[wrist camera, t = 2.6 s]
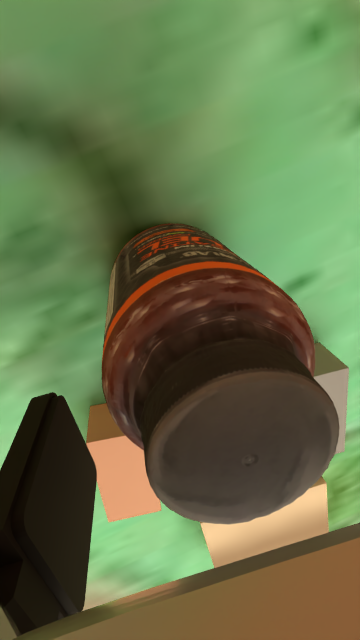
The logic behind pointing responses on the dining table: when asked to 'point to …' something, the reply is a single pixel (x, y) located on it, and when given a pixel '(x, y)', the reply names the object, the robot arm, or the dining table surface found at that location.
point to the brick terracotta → (119, 468)
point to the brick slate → (333, 385)
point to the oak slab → (270, 528)
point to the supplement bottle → (213, 378)
